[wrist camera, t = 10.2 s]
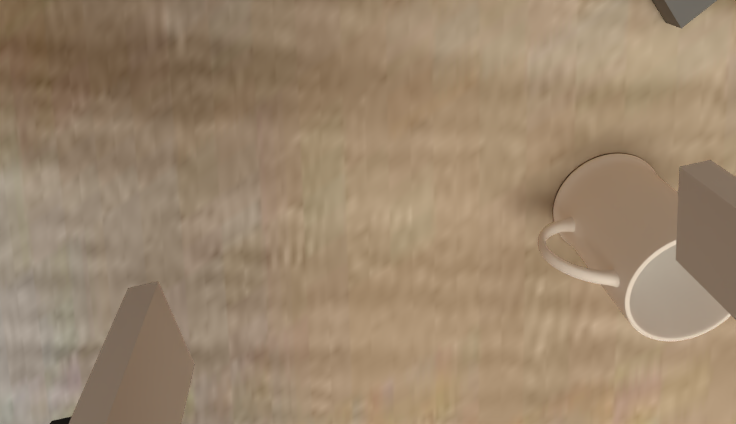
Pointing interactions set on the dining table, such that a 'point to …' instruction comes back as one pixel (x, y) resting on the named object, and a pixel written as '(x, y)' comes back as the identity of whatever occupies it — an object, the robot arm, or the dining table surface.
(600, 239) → the mug
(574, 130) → the dining table surface
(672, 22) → the tuner board
